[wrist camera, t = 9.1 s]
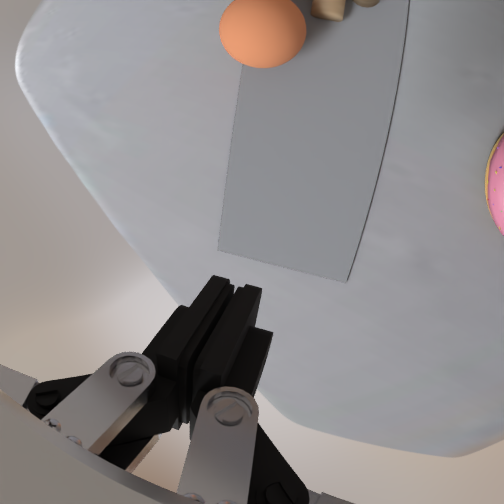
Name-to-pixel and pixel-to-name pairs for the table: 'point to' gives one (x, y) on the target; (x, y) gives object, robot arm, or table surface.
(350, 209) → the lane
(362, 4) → the pin
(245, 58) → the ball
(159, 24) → the table surface
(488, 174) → the doughnut
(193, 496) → the robot arm
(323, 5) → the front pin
